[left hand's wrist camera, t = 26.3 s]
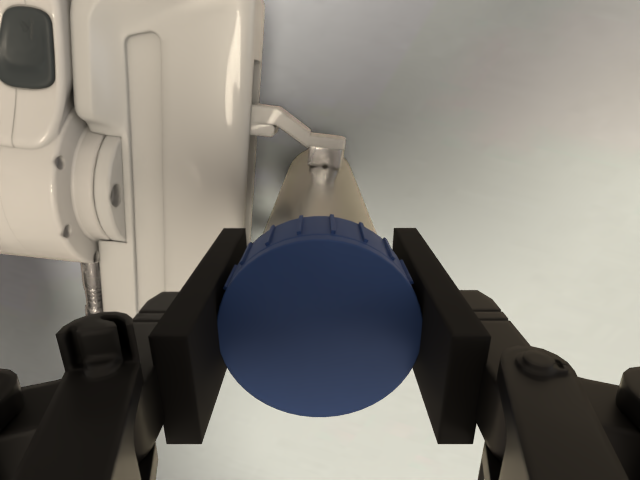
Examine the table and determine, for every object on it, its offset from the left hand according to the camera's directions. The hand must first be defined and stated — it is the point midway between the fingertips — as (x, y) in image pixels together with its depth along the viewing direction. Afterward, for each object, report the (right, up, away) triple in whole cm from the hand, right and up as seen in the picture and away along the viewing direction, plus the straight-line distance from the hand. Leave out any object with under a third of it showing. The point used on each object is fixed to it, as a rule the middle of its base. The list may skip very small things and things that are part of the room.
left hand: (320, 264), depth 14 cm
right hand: (+1, +3, +7) cm, 8 cm away
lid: (0, -1, -4) cm, 4 cm away
